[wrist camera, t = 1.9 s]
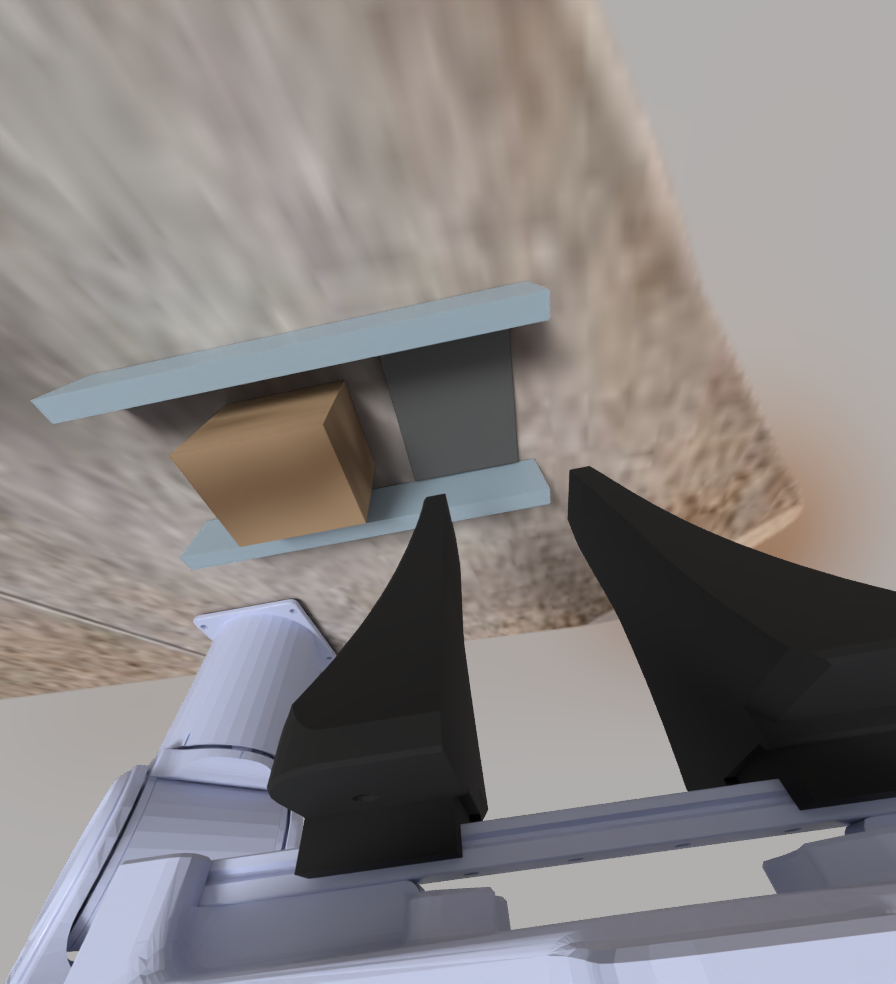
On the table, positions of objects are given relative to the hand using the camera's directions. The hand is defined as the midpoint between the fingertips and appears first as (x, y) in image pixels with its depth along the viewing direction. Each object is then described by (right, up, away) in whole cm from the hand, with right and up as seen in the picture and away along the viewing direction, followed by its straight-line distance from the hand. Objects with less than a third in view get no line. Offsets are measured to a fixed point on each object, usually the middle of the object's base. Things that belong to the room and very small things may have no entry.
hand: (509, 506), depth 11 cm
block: (-9, +3, +7) cm, 12 cm away
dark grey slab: (-2, +5, +7) cm, 8 cm away
